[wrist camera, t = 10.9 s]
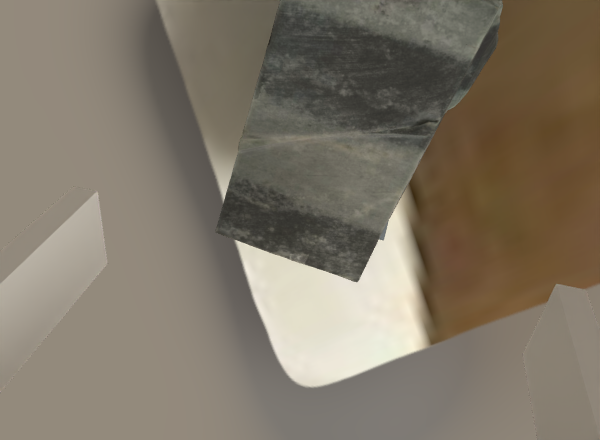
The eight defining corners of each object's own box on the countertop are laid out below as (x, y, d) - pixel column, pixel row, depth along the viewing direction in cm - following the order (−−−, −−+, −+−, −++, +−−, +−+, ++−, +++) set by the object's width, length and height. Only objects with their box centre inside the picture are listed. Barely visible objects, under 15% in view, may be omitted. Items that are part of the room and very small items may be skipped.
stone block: (518, -10, 23) (539, 18, 19) (386, 239, 31) (379, 299, 27) (323, -87, 23) (298, -75, 19) (242, 184, 31) (212, 235, 27)
